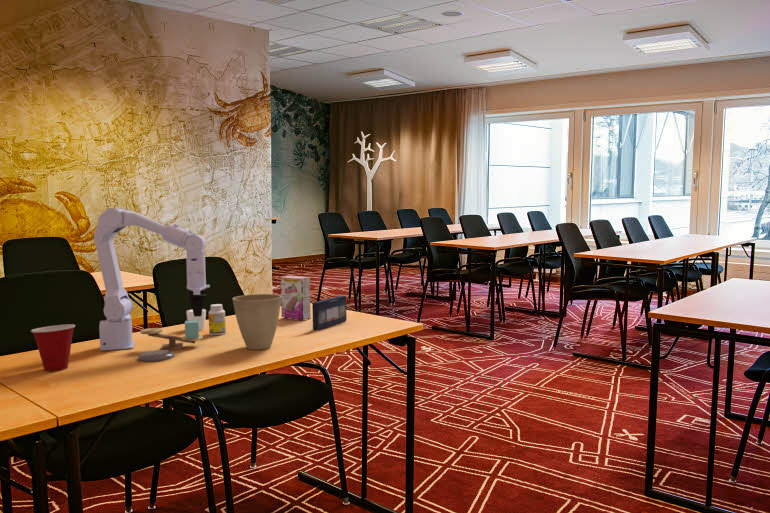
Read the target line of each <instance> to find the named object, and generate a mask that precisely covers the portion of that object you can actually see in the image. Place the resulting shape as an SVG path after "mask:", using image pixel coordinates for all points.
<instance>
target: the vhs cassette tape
mask: <svg viewBox="0 0 770 513" xmlns="http://www.w3.org/2000/svg"><path fill="white" fill-rule="evenodd" d="M311 307H312V308H311V310H312V330H313V331H321V330H325V329H328V328H330V327H334V326H337V324H338V325H340V323H341V324H344V323H346V322H347V318H348V317H347V296H346V295H339V296H335V297H334V296H333V297H330V298H326V299H321V300H319V301H314V302H312V306H311ZM345 321H346V322H345ZM343 322H344V323H343Z"/></svg>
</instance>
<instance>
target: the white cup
mask: <svg viewBox="0 0 770 513" xmlns="http://www.w3.org/2000/svg"><path fill="white" fill-rule="evenodd" d="M206 317H207V310H206V309H205V308H202V315H201V316H198V317H194V314H193V309H192V308H191V309H189V310H188V309H187V310H186V321H191V320H198V327H199V330H200V331H204V330H205V329H206ZM203 329H204V330H203Z"/></svg>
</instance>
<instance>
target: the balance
mask: <svg viewBox="0 0 770 513" xmlns="http://www.w3.org/2000/svg"><path fill="white" fill-rule="evenodd" d="M162 332H163V328H161V327H152V328H150V327H149V328H144V329H141V330H140V332H139V333H140V334H141V335H147V336H148V337H153V338H160V339H166V340H168V343H163V344H162V346H161V350H170V351H173V350H182V349H183V346H184V344H183V342H184V343H190V344H196V341H200V340H201V341H202V340H203V339H204V335H202V334H199V338H191V339H185V335H184V336H175V335H171V334H165V333H162ZM176 341H178V342H176Z"/></svg>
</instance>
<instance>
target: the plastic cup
mask: <svg viewBox="0 0 770 513" xmlns="http://www.w3.org/2000/svg"><path fill="white" fill-rule="evenodd" d="M75 327H76V325H75V324H69V323H68V324H56V325H48V326H42V327H37V328H34V329H33V328H32V329H31V330H30V332H31V333H32V334H33V337H34V338H35V341H36V345H37V349H38V352H39V356H40V359H41V364H42V367H43V369H44V370H43V371H45V372H58V371H65V369H68V367H69V363H70V361H69V360H70V356H71V351H72V350H71V348H72V339H73V335H74V334H73V333H74V329H75Z"/></svg>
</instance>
